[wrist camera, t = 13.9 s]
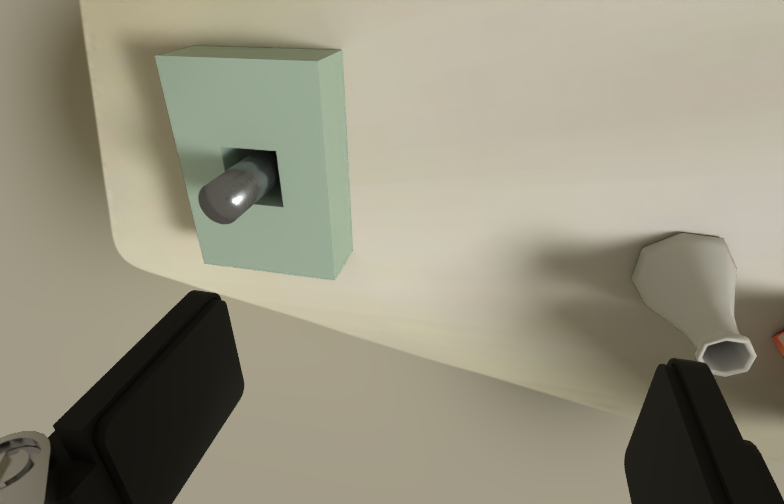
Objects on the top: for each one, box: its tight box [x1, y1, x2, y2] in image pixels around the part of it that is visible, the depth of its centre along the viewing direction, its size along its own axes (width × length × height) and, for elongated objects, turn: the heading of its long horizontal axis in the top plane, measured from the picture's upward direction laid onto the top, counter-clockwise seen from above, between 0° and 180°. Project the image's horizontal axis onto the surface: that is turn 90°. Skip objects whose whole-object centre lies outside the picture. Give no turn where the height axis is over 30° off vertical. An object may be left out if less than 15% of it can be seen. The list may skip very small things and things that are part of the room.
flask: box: [631, 233, 757, 377], centre depth 34 cm, size 7×7×10 cm
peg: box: [198, 150, 280, 224], centre depth 37 cm, size 3×3×10 cm
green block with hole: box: [155, 46, 353, 280], centre depth 39 cm, size 17×12×5 cm
